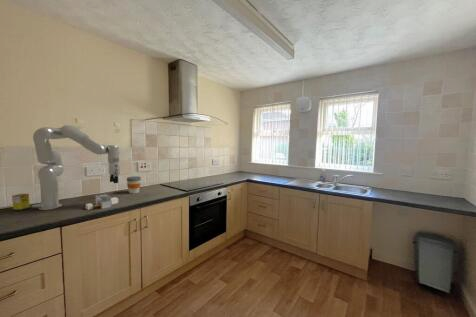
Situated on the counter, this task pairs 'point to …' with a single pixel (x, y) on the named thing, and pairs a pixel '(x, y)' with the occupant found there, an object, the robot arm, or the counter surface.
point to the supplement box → (20, 201)
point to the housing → (103, 200)
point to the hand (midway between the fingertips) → (114, 182)
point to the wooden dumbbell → (91, 206)
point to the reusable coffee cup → (133, 184)
